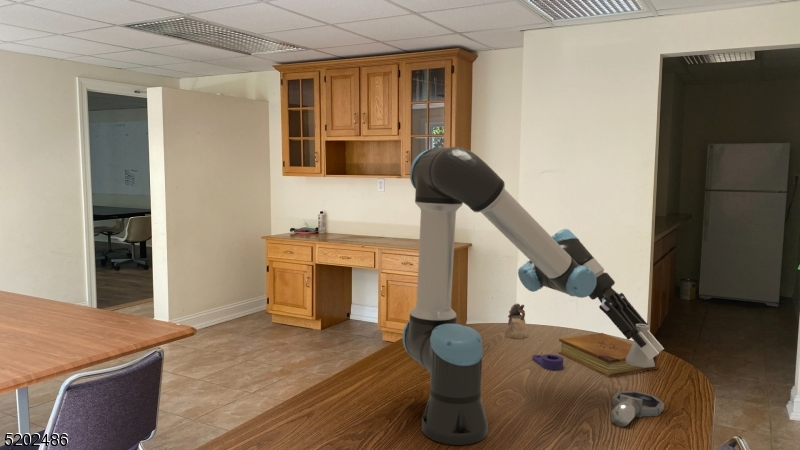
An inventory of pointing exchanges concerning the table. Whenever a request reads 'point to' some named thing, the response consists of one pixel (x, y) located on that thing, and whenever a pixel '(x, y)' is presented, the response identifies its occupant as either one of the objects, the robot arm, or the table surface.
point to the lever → (549, 361)
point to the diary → (601, 354)
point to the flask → (639, 351)
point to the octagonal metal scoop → (634, 406)
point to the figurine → (516, 323)
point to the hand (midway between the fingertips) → (656, 353)
